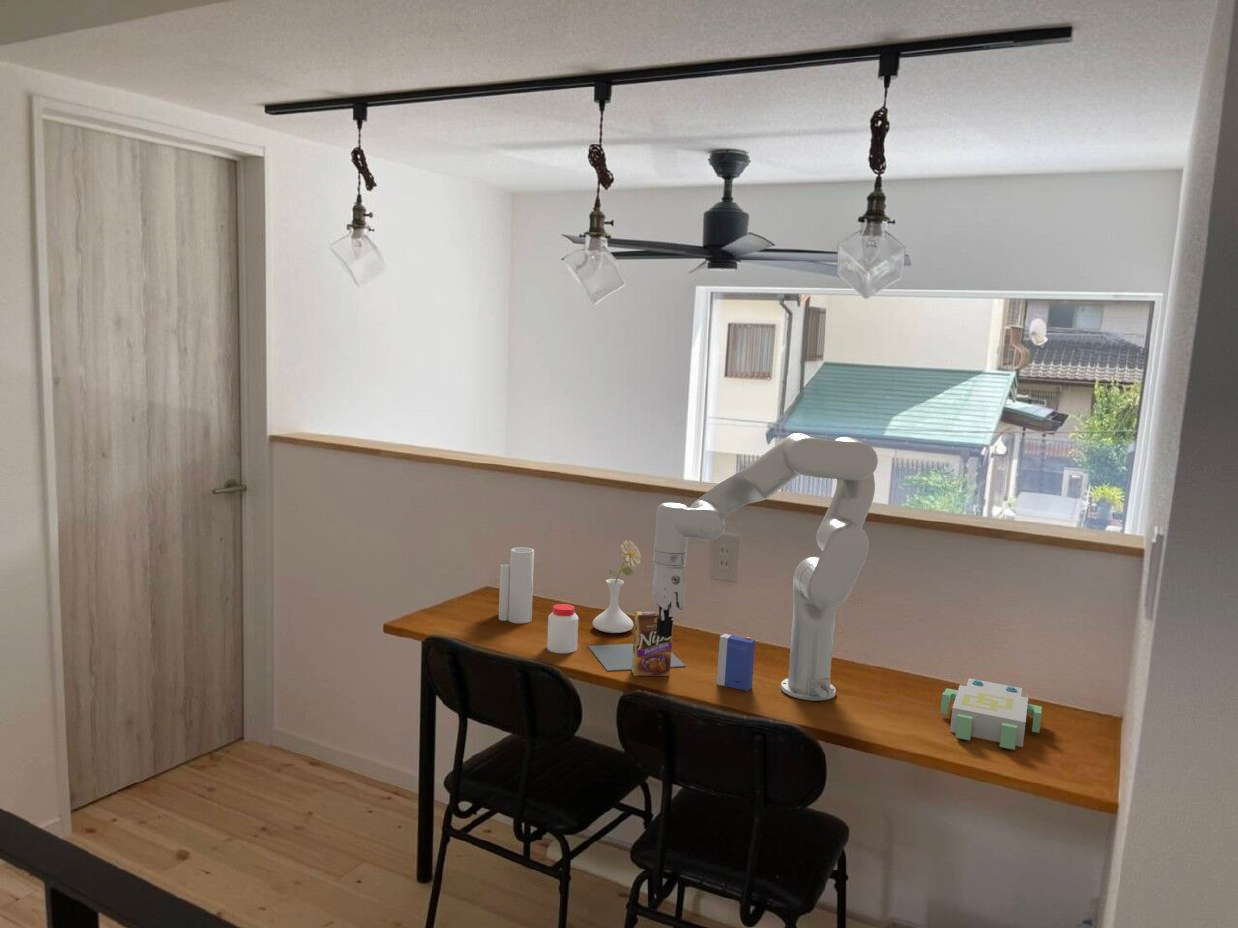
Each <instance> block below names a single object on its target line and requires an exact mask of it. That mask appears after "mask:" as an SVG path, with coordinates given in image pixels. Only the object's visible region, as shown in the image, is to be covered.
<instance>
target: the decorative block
mask: <svg viewBox="0 0 1238 928" xmlns="http://www.w3.org/2000/svg"><path fill="white" fill-rule="evenodd" d="M1022 692H1023V688H1022V687H1019V686H1018V687H1017V686H1013V685H1007V684H1003V683H1002V684H1001V683H996V682H991V681H986V680H985V681H984V680H980V679H975V678H969V677H968V679H967V684H966V685H963V684H959V686H958V690H957V689H952V688H945V689H944V691H942V694H941V703H940V712H939V713H940V714H945V715H948V712H949V706H950V703H951V701H954V702H953V704H952V707H951V709H952V710H951V718H950V728H949V729H950V730H949V732H950V733H953V734H955V736H954V737H955V739H956V738H957V739H961V740H966V741H971V738H972V737H973V738H977V739H982V740H986V741H992V742H997V743H999V747H1000V748H1005V749H1009V750H1014V751H1015V750H1016V747H1020V748H1024V739H1025V732H1026V731H1025V730H1026V722H1027V715H1028V716H1033V717H1032V718H1033V719H1032V729H1031V732H1032V733H1038V734H1039V733H1040V729H1041V722H1042V721H1041V720H1042V709H1043V706H1040V705H1035V704H1030V703H1029V697H1027V696H1022V694H1023V693H1022Z"/></svg>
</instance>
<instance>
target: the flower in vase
mask: <svg viewBox="0 0 1238 928" xmlns="http://www.w3.org/2000/svg"><path fill="white" fill-rule="evenodd" d="M619 550H620V552H619V554H620V555H621V556H620V559H621V560H622V561H623V562H622V564H621V566H620V567H621V568H620V570H619V572H615V571H613V570H612V569H609V575H612V576H616V578H609V579H606V580H605V583H606V584H607V586H608V588H609V597H610V598H609V605H608V607H607V608H606V609H605V610H603V612H601V613H600V614H598V615H597V616H596V617H594V619H593V621H592V623H591V624H592V626H593V628H594V629H596V630H598V631H600V632H603V633H609V634H620V633H626V632H628V631H631V630H632V629H634V628H633V627H634V625H635V623H634V622H633V620H632V619H631V618H630V616H628V615H627V614H626V613H625V612H623V611H622V610H621V608H620V605H619V595H620V590H621V588H622V586H623V585H624V583H625V581H624V580H622V579H619V577H620V575H621V573H623V574H624V575H625V576H631V575H632V574H633V573H634V570H633V569H637V566H640V563H641V562H642V561H641V559H642V555H641V552H640V550H639V547H638V546H636V545H635V543H634V541H632V540H627V539H626V540H624V541H623V544H620V548H619ZM624 565H625V566H624Z"/></svg>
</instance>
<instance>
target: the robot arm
mask: <svg viewBox="0 0 1238 928" xmlns="http://www.w3.org/2000/svg"><path fill="white" fill-rule="evenodd" d="M878 459H879V458H878V455H877V452H876V451H875V449H874V447H872V446H871V445H870V444H868V443H866V442H864V441H862V440H860V439H856V438H855V437H854V438H853V437H850V436H841V437H838V438H836V439H834V440H833V439H825V438H819V437H813V436H809V435H808V434H805V433H801V432H797V433H792V434H790V435H788V436H787V437H784V438H783V439H782V440H781V441H779V442H778V443H776V444H775V445H774V446H772V447H771V448H770V449H768V451H766V452H765V453H763V454H762V455H761V456H760V457H758V458H757V459H755V460H754V461H753V462H752V463H751V464H748V466H746V467H744V468H743V469H742V470H739V471H738V472H736V473H734V474H733V475H731V476H730V477H728V478H725V480H723V481H721V482H719V483H717V484H716V485H715V486H713V487H711V489H709V490H708V491H706V492H705V493H704V494H703V495H701V496H700V497H699V498H698V499H696V500H695V501H694V502H693V503H691V505H690V507H688V505H686V504H682V503H677V502H663V503H661V504H659V505H658V507H657V509H656V513H655V514H656V517H655V530H654V544H653V545H654V546H653V559H652V564H653V565H654V568H653V569H654V570H653V575H652V576H653V578H652V585H651V594H652V595H651V597H652V601H654V602H655V604H656V606H657V607H656V609H657V610H656V611H657V617H658V618H657V631H656V634H657V635H658V636H659V637H671V636H672V625H673V626H674V621H673V619H675V618H676V617H677V609H678V610H680V611H682V610H684V608H685V604H686V602H685V601H686V600H685V599H686V571H685V567H686V566H687V555H688V544H689V538H692V539H696V540H700V541H708V542H709V541H714V540H717V539H718V538H720V537H721V536H722V535H723V533H724V531H725V528H726V520H725V518H727V517H728V516H729V515H730V514H732V513H733V512H735V511H736V510H738V509H740V508H742V507H743V506H746V505H749V504H752V503H758V502H763V501H764V500H765V501H766V500H767V499H770V497H773V495H774V494H776V493H777V492H779V491H780V490H781V489H783V488H784V487H785V486H787V485H788V484H789V483H790V482H792V481H793V480H794V479H796V478H797V477H799V475H801V476H805V477H812V478H822V479H832V480H836V486H835V491H834V493H833V497H832V499H831V501H830V503H829V506H828V508H827V510H826V512H825V514H824V517H823V519H822V520H821V523H820V525H819V527H818V529H817V532H816V535H815V537H816V538H815V540H816V544H817V546H818V547H819V549H820V550H821V551H822V552H821V554H820V556H810V557H806V558H804V559H803V560H801V561H800V562H799V564H798V565H797V566H796V568H795V569H794V573H793V579H792V591H793V592H792V593H793V597H792V598H793V611H792V623H791V635H790V637H791V638H790V648H789V649H790V651H789V660H788V661H789V663H788V675H787V678H785V679H783V680H782V681H781V683H780V689H781V691H782V692H783V693H785V694H786V695H788V696H790V697H792V698H796V699H799V700H804V701H813V702H817V701H818V702H819V701H821V702H822V701H827V700H828V701H829V700H831V699H833V698H834V697H835V696H836V693H837V690H836V687H835V685H833V684H832V683H831V669H832V659H833V645H834V633H835V624H836V609H838V608H840V607H841V606H842V605H844V604H845V602H846V601H847V599H848V597H849V596H850V594H851V593H852V591H853V588H854V586H855V584H856V581H857V579H858V578H859V575H860V574H861V571H862V568H863V567H864V565H865V563H866V560H867V557H868V555H869V549H870V542H869V541H870V540H869V536H868V534H867V532H866V531H865V530H864V529H863V526H864V524H865V521H866V519H867V516H868V514H869V511H870V509H871V506H872V503H873V501H874V499H875V498H874V496H875V491H876V483H875V482H876V480H875V475H874V472H875V471H876V469H877V467H878V463H879V462H878V461H879V460H878ZM672 637H673V636H672Z"/></svg>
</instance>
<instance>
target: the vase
mask: <svg viewBox="0 0 1238 928" xmlns="http://www.w3.org/2000/svg"><path fill="white" fill-rule="evenodd" d="M509 552H510V557H509V564H506V563H505V564H500V565H499V591H498V592H499V595H498V597H499V599H498V620H499V621H504V622H505V621H506V622H507V621H508V622H510V623H513V624H527V623H528V624H529V623H530V622H532V620H533V619H532V617H533V596H534V595H533V592H534V568H535V567H534V564H535V563H534V561H535V549H534V548H530V547H513V548H510V551H509Z"/></svg>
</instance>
